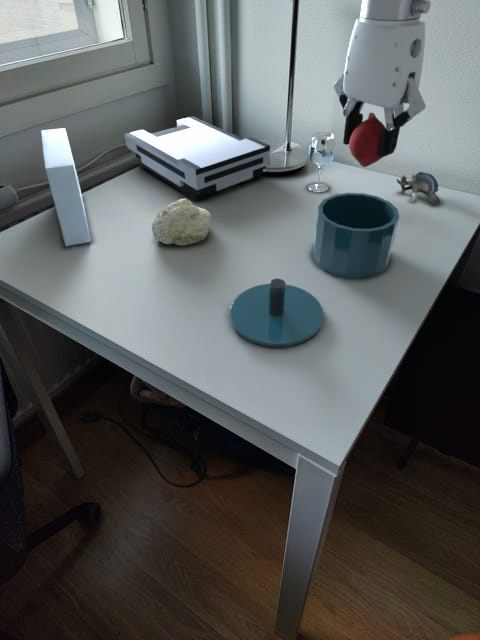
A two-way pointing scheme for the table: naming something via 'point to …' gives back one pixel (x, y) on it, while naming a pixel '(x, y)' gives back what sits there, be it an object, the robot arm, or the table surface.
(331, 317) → the table surface
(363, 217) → the pot
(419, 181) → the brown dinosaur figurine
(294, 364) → the table surface
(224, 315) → the table surface
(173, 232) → the decorative item
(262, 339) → the lid
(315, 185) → the wineglass
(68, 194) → the skincare box
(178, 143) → the game console
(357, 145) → the red pomegranate
